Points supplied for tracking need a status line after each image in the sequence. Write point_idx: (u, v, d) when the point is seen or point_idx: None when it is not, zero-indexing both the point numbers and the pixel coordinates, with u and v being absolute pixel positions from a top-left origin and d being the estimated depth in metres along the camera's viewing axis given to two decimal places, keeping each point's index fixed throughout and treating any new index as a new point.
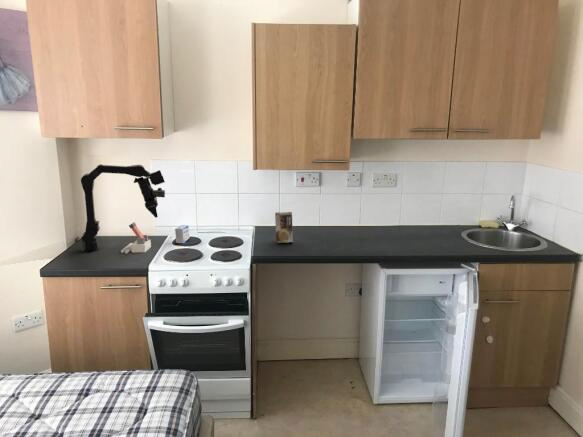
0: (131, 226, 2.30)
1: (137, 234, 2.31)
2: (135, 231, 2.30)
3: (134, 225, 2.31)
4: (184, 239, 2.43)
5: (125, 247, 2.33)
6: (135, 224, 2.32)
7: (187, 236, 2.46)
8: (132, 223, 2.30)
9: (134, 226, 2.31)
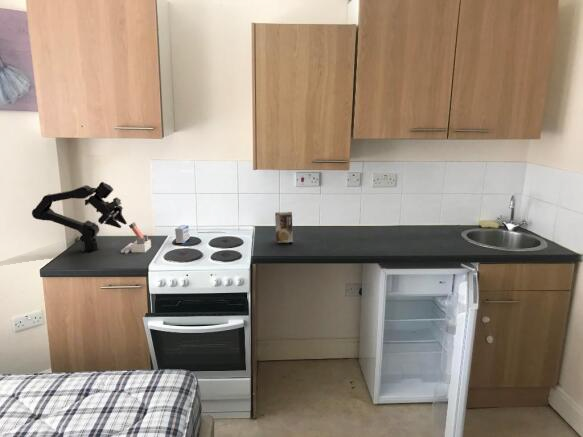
0: (131, 226, 2.30)
1: (137, 234, 2.31)
2: (135, 231, 2.30)
3: (134, 225, 2.31)
4: (184, 239, 2.43)
5: (125, 247, 2.33)
6: (135, 224, 2.32)
7: (187, 236, 2.46)
8: (132, 223, 2.30)
9: (134, 226, 2.31)
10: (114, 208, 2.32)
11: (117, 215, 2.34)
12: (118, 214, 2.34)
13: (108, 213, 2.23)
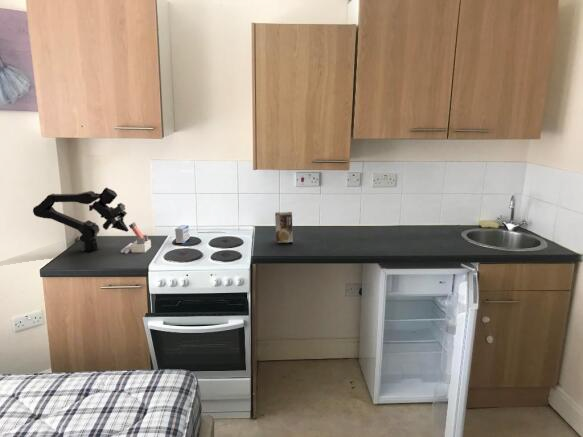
0: (131, 226, 2.30)
1: (137, 234, 2.31)
2: (135, 231, 2.30)
3: (134, 225, 2.31)
4: (184, 239, 2.43)
5: (125, 247, 2.33)
6: (135, 224, 2.32)
7: (187, 236, 2.46)
8: (132, 223, 2.30)
9: (134, 226, 2.31)
10: (118, 213, 2.33)
11: None
12: None
13: (112, 219, 2.23)
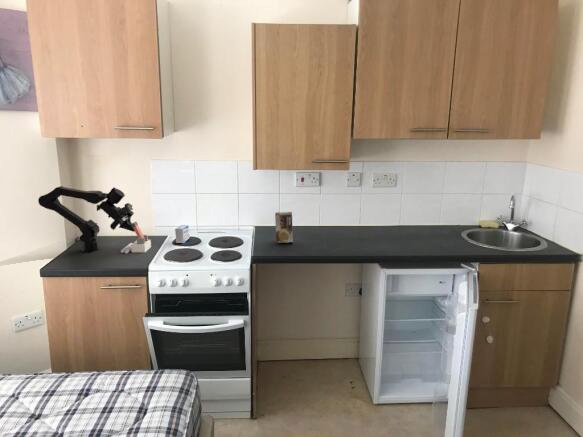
0: (133, 225, 2.29)
1: (138, 234, 2.31)
2: (136, 230, 2.30)
3: (136, 224, 2.31)
4: (184, 239, 2.43)
5: (125, 247, 2.33)
6: (137, 223, 2.32)
7: (187, 236, 2.46)
8: (134, 222, 2.30)
9: (136, 225, 2.31)
10: (125, 213, 2.33)
11: None
12: None
13: (120, 219, 2.23)
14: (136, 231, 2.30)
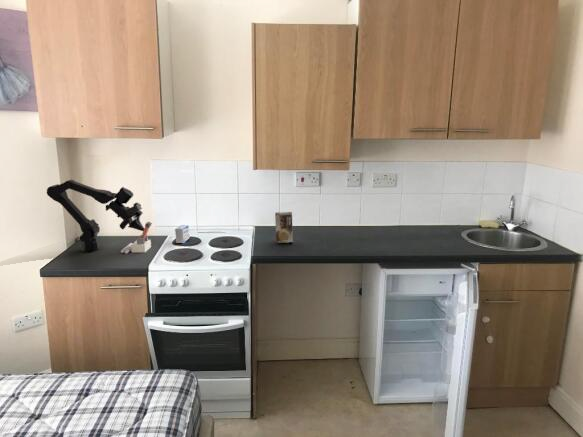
0: (147, 225, 2.29)
1: (143, 234, 2.31)
2: (145, 231, 2.30)
3: (149, 226, 2.31)
4: (184, 239, 2.43)
5: (125, 247, 2.33)
6: (150, 225, 2.32)
7: (187, 236, 2.46)
8: (150, 224, 2.30)
9: (148, 227, 2.31)
10: (134, 213, 2.32)
11: None
12: None
13: (129, 218, 2.23)
14: (144, 231, 2.30)
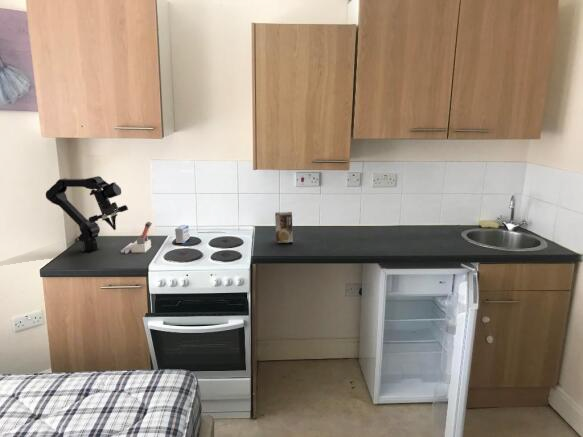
0: (147, 225, 2.29)
1: (143, 234, 2.31)
2: (145, 231, 2.30)
3: (149, 226, 2.31)
4: (184, 239, 2.43)
5: (125, 247, 2.33)
6: (150, 225, 2.32)
7: (187, 236, 2.46)
8: (150, 224, 2.30)
9: (148, 227, 2.31)
10: None
11: (111, 217, 2.28)
12: (111, 217, 2.27)
13: (94, 218, 2.21)
14: (144, 231, 2.30)
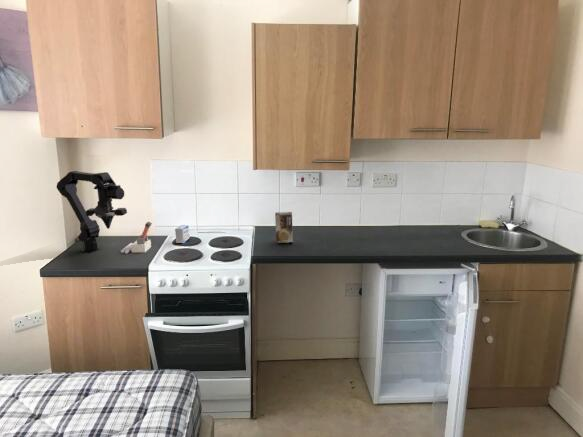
0: (147, 225, 2.29)
1: (143, 234, 2.31)
2: (145, 231, 2.30)
3: (149, 226, 2.31)
4: (184, 239, 2.43)
5: (125, 247, 2.33)
6: (150, 225, 2.32)
7: (187, 236, 2.46)
8: (150, 224, 2.30)
9: (148, 227, 2.31)
10: None
11: None
12: None
13: (89, 213, 2.22)
14: (144, 231, 2.30)
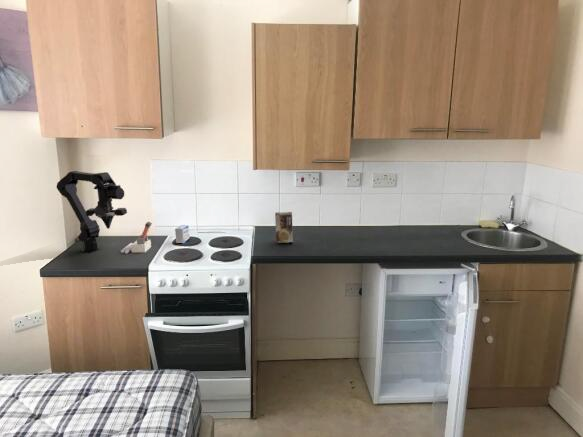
0: (147, 225, 2.29)
1: (143, 234, 2.31)
2: (145, 231, 2.30)
3: (149, 226, 2.31)
4: (184, 239, 2.43)
5: (125, 247, 2.33)
6: (150, 225, 2.32)
7: (187, 236, 2.46)
8: (150, 224, 2.30)
9: (148, 227, 2.31)
10: None
11: None
12: None
13: (89, 213, 2.22)
14: (144, 231, 2.30)
